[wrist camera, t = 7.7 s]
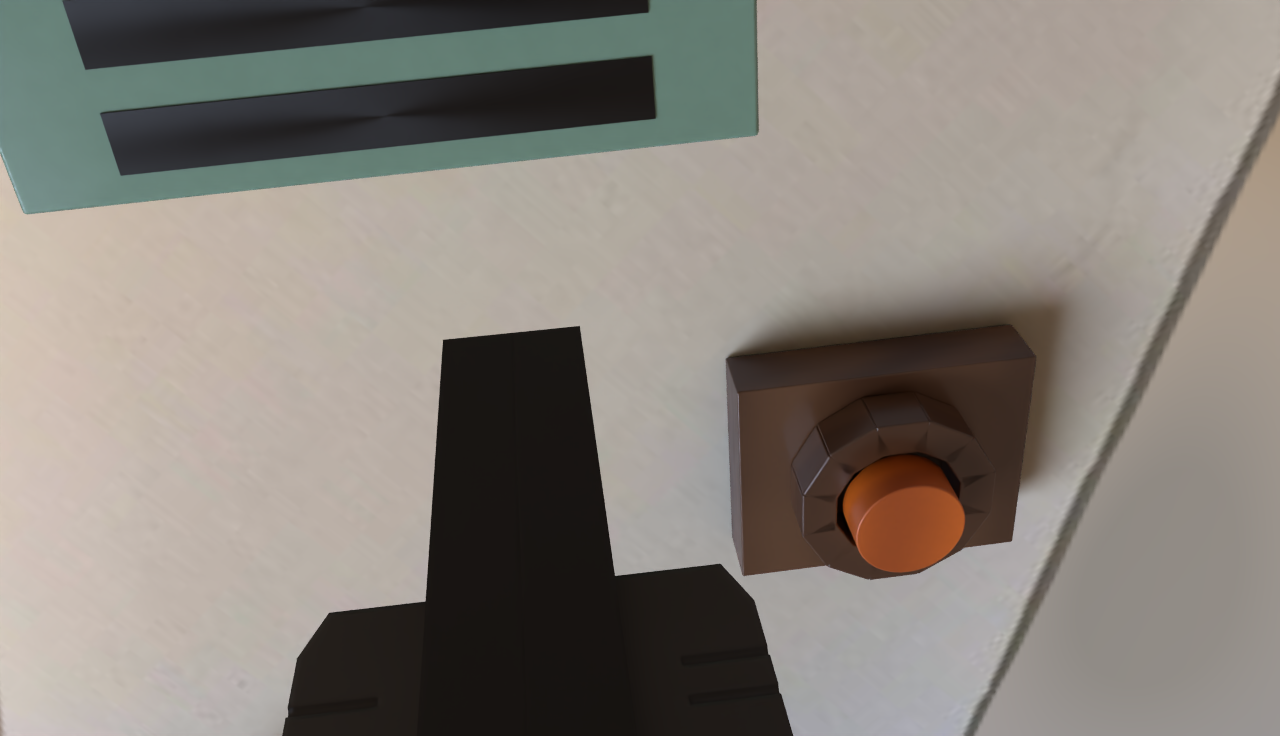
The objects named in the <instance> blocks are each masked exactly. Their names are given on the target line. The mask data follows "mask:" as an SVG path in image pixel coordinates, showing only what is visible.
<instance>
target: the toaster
mask: <svg viewBox="0 0 1280 736" xmlns="http://www.w3.org/2000/svg"><path fill="white" fill-rule="evenodd" d="M758 132H759V117H758V57H757V0H0V154H1V157H2V159H3V162H4V164H5V167H6V169H7V172H8V175H9V177H10V180H11V182H12V185H13V187H14V190H15V193H16V195H17V198H18V200H19V203H20V205H21V208H22V211H23V212H24V213H25V214H35V213H44V212H53V211H62V210H72V209H81V208H90V207H99V206H109V205H118V204H127V203H137V202H146V201H155V200H164V199H174V198H183V197H192V196H201V195H211V194H220V193H229V192H238V191H248V190H257V189H266V188H275V187H285V186H294V185H303V184H313V183H322V182H331V181H340V180H350V179H359V178H368V177H377V176H387V175H396V174H405V173H414V172H424V171H433V170H442V169H451V168H461V167H470V166H479V165H489V164H498V163H507V162H516V161H526V160H535V159H544V158H553V157H563V156H572V155H581V154H590V153H600V152H609V151H618V150H628V149H637V148H646V147H655V146H665V145H674V144H683V143H692V142H702V141H711V140H720V139H729V138H739V137H748V136H755V135H757V134H758Z"/></svg>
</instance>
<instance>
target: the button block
mask: <svg viewBox="0 0 1280 736" xmlns="http://www.w3.org/2000/svg"><path fill="white" fill-rule="evenodd" d="M1035 364H1036V356H1035V354H1034V353H1033V352H1032V350H1031V349H1030V348H1029V346H1028V345H1027V344H1026V343H1025V341H1024V340H1023V339H1022V337H1021V336H1020V335H1019V334H1018V332H1017V331H1016V330H1015V328H1014V327H1013V326H1012V325H1002V326H994V327H985V328H977V329H968V330H960V331H951V332H943V333H935V334H926V335H918V336H909V337H901V338H892V339H884V340H875V341H867V342H858V343H850V344H842V345H833V346H825V347H816V348H808V349H799V350H791V351H782V352H774V353H765V354H757V355H749V356H740V357H732V358H726V379H727V406H728V433H729V460H730V487H731V515H732V538H733V541H734V545H735V549H736V553H737V556H738V560H739V564H740V567H741V571H742V575H743V576H747V575H755V574H763V573H771V572H778V571H786V570H794V569H802V568H809V567H817V566H825V565H826V566H828V567H830V568H833V569H836V570H840V571H843V572H846V573H849V574H852V575H856V576H859V577H862V578H865V579H870V580H873V579H880V578H888V577H896V576H904V575H911V574H917V573H921V572H922V571H924V570H926V569H928V568H930V567H931V566H933V565H935V564H937V563H939V562H940V561H942V560H944V559H946V558H948V557H950V556H951V555H953V554H955V553H957V552H959V551H960V550H962V549H963V548H965V547H973V546H981V545H988V544H996V543H1004V542H1011V541H1012V537H1013V530H1014V522H1015V515H1016V507H1017V500H1018V492H1019V485H1020V477H1021V470H1022V462H1023V454H1024V447H1025V439H1026V432H1027V424H1028V417H1029V409H1030V402H1031V394H1032V387H1033V379H1034V372H1035ZM902 454H910V455H918V456H921V457H925V458H927V459H929V460H931V461H933V462H934V463H936V464H937V465H938V466H939V467H940V468H941V469H942V470H943V472H944V474H945V475H946V477H947V479H948V481H949V483H950V484H951V486H952V488H953V490H954V492H955V494H956V495H957V497H958V499H959V501H960V503H961V504H962V506H963V509H964V513H965V526H964V530H963V533H962V536H961V538H960V540H959V541H958V543H957V544H956V546H955V547H954V548H953V549H952V550H951V551H950V552H949V553H948V554H947V555H946V556H945V557H943V558H942V559H941V560H939V561H937V562H936V563H934V564H932V565H930V566H928V567H925V568H922V569H919V570H915V571H910V572H889V571H884V570H881V569H878V568H876V567H874V566H872V565H871V564H869V563H868V562H867V561H866V560H865V559H864V558H863V557H862V556H861V554H860V553H859V550H858V548H857V546H856V543H855V541H854V538H853V536H852V533H851V531H850V528H849V526H848V524H847V521H846V519H845V516H844V512H843V499H844V495H845V492H846V490H847V488H848V486H849V484H850V483H851V481H852V480H853V479H854V477H855V476H856V475H857V474H858V473H859V472H860V471H862V470H863V469H864V468H865V467H867V466H868V465H870V464H872V463H874V462H876V461H878V460H880V459H883V458H886V457H889V456H894V455H902Z"/></svg>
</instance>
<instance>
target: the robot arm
mask: <svg viewBox="0 0 1280 736" xmlns="http://www.w3.org/2000/svg"><path fill="white" fill-rule="evenodd" d="M282 736H793V734H792V730H791V727H790V723H789V720H788V716H787V713H786V709H785V706H784V702H783V699H782V695H781V694H780V693H779V688H778V681H777V678H776V674H775V671H774V667H773V664H772V660H771V657H770V655H768V649H767V643H766V640H765V636H764V633H763V629H762V626H761V622H760V619H759V615H758V612H757V608H756V605H755V601H754V600H753V598H752V597H751V596H750V595H749V594H748V593H747V592H746V591H745V590H744V589H743V588H742V587H741V585H740V584H739V583H738V582H737V581H736V580H735V579H734V578H733V577H732V576H731V575H730V574H729V573H728V571H727V570H726V569H725V568H724V567H723V566H722V565H721V564H715V565H706V566H697V567H689V568H680V569H672V570H663V571H654V572H646V573H637V574H629V575H620V576H615V573H614V566H613V559H612V552H611V545H610V538H609V531H608V524H607V517H606V510H605V502H604V495H603V488H602V481H601V474H600V467H599V460H598V453H597V446H596V439H595V432H594V424H593V417H592V410H591V403H590V396H589V389H588V382H587V375H586V368H585V361H584V353H583V346H582V339H581V332H580V326H576V327H566V328H556V329H547V330H537V331H527V332H517V333H507V334H497V335H487V336H477V337H467V338H457V339H448V340H443V350H442V365H441V380H440V395H439V410H438V425H437V440H436V455H435V470H434V485H433V500H432V515H431V530H430V545H429V560H428V575H427V590H426V602H419V603H410V604H401V605H393V606H384V607H376V608H367V609H359V610H350V611H341V612H333V613H329V614H328V615H327V617H326V618H325V620H324V621H323V622H322V624H321V625H320V627H319V628H318V630H317V631H316V632H315V634H314V635H313V637H312V638H311V639H310V641H309V642H308V644H307V645H306V647H305V648H304V649H303V651H302V652H301V654H300V655H299V657H298V658H297V662H296V668H295V673H294V678H293V683H292V688H291V694H290V699H289V704H288V718H286V719H285V725H284V730H283V735H282Z"/></svg>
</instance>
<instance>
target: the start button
mask: <svg viewBox="0 0 1280 736" xmlns="http://www.w3.org/2000/svg"><path fill="white" fill-rule="evenodd" d="M843 512H844V516H845V519H846V521H847V524H848V526H849V528H850V531H851V533H852V536H853V538H854V541H855V543H856V546H857V548H858V550H859V553H860V554H861V556H862V557H863V558H864V559H865V560H866V561H867V562H868V563H869V564H871V565H872V566H874V567H876V568H878V569H881V570H884V571H889V572H910V571H915V570H919V569H922V568H925V567H928V566H930V565H932V564H934V563H936V562H937V561H939V560H941V559H942V558H943V557H945V556H946V555H947V554H948V553H949V552H950V551H951V550H952V549H953V548H954V547H955V546H956V544H957V543H958V541H959V540H960V538H961V536H962V533H963V530H964V526H965V513H964V509H963V506H962V504H961V503H960V501H959V499H958V497H957V495H956V494H955V492H954V490H953V488H952V486H951V484H950V483H949V481H948V479H947V477H946V475H945V474H944V472H943V470H942V469H941V468H940V467H939V466H938V465H937V464H936V463H934V462H933V461H931V460H929V459H927V458H925V457H921V456H918V455H910V454H902V455H894V456H889V457H886V458H883V459H880V460H878V461H876V462H874V463H872V464H870V465H868V466H867V467H865V468H864V469H863V470H862V471H860V472H859V473H858V474H857V475H856V476H855V477H854V479H853V480H852V481H851V483H850V484H849V486H848V488H847V490H846V492H845V495H844V499H843Z"/></svg>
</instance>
